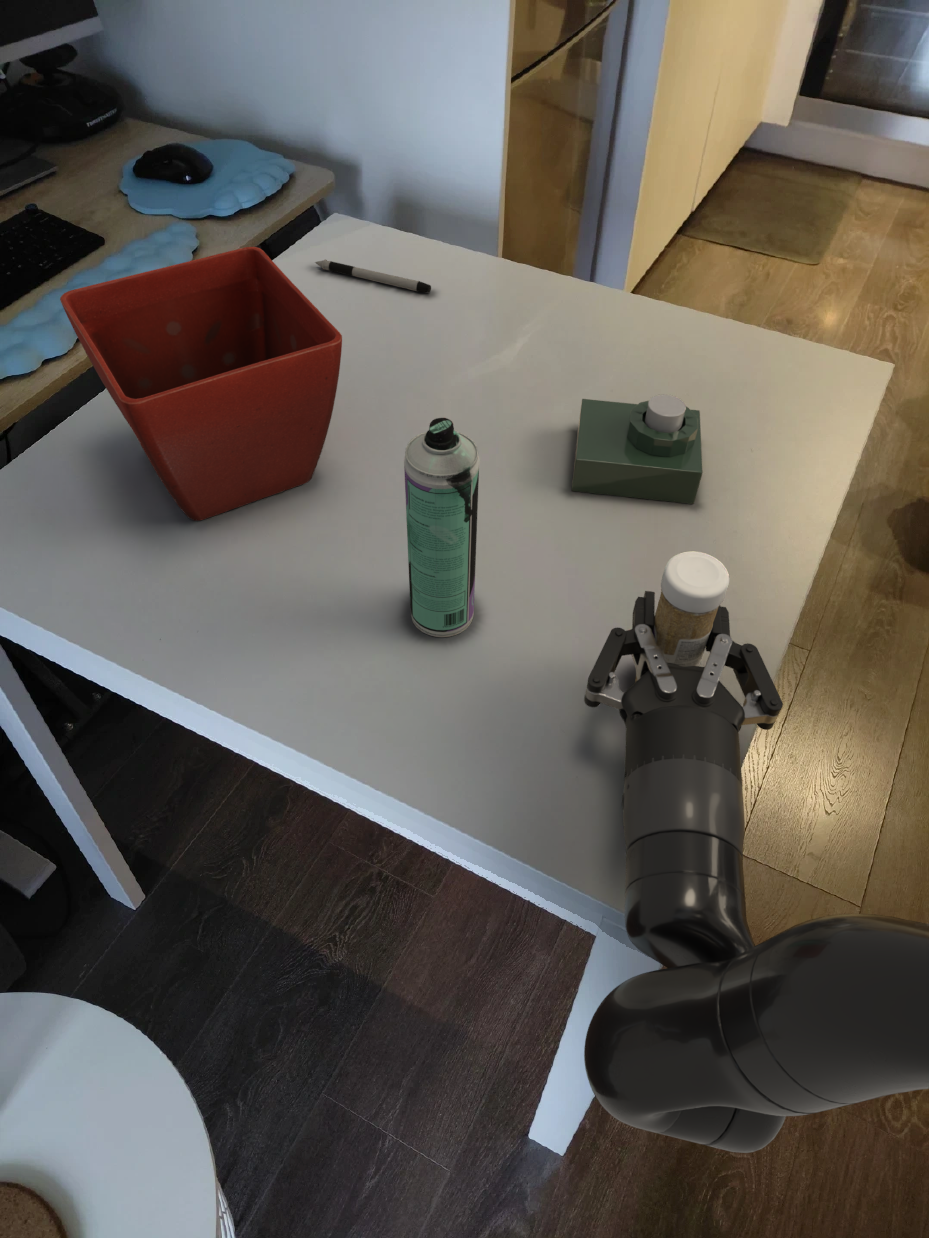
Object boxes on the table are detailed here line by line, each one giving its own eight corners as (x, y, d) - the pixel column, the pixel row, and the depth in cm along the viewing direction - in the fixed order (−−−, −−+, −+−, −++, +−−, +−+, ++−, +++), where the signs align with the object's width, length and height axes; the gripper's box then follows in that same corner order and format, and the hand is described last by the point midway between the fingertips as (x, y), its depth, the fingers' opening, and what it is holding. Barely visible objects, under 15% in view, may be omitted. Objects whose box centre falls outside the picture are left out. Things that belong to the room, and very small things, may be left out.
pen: (427, 296, 113) (427, 286, 112) (312, 269, 117) (311, 259, 116) (432, 291, 114) (431, 281, 113) (317, 264, 118) (316, 255, 117)
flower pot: (360, 489, 89) (347, 336, 76) (173, 559, 82) (123, 404, 69) (281, 391, 99) (257, 242, 87) (109, 446, 92) (55, 293, 80)
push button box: (691, 441, 95) (704, 393, 90) (693, 504, 88) (707, 455, 83) (577, 430, 96) (584, 381, 91) (571, 491, 89) (578, 442, 84)
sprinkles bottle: (626, 670, 74) (655, 554, 64) (677, 660, 75) (714, 544, 65) (647, 714, 71) (680, 600, 61) (700, 703, 72) (742, 589, 62)
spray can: (485, 606, 79) (495, 417, 64) (451, 647, 76) (453, 458, 61) (433, 581, 81) (430, 392, 65) (398, 620, 77) (387, 431, 62)
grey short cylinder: (681, 413, 88) (685, 395, 87) (682, 435, 86) (686, 418, 85) (644, 409, 89) (648, 392, 87) (644, 432, 86) (647, 414, 85)
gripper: (812, 778, 55) (787, 579, 66) (579, 748, 56) (593, 557, 67) (778, 837, 61) (760, 644, 72) (567, 808, 62) (581, 622, 73)
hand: (679, 603), depth 70 cm, fingers closed on sprinkles bottle, 4 cm apart
